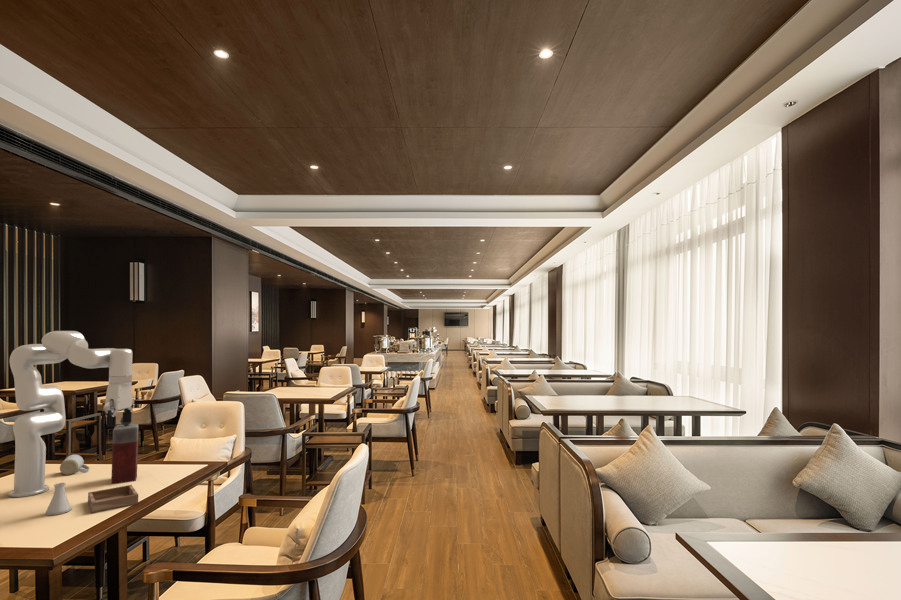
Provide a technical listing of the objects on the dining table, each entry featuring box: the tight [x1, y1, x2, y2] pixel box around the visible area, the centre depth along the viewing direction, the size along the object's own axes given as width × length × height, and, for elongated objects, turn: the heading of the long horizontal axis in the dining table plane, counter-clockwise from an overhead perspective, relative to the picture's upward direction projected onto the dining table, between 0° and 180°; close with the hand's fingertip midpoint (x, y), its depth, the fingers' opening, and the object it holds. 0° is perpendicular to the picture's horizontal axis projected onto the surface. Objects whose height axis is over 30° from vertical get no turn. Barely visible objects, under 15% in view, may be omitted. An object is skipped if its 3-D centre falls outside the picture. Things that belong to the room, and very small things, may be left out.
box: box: [87, 484, 139, 514], centre depth 186 cm, size 16×14×4 cm
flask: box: [44, 482, 73, 516], centre depth 178 cm, size 7×7×10 cm
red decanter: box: [110, 416, 139, 485], centre depth 217 cm, size 9×11×28 cm
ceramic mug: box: [59, 454, 90, 476], centre depth 227 cm, size 11×8×8 cm
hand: (119, 424), depth 191 cm, fingers open, 9 cm apart
